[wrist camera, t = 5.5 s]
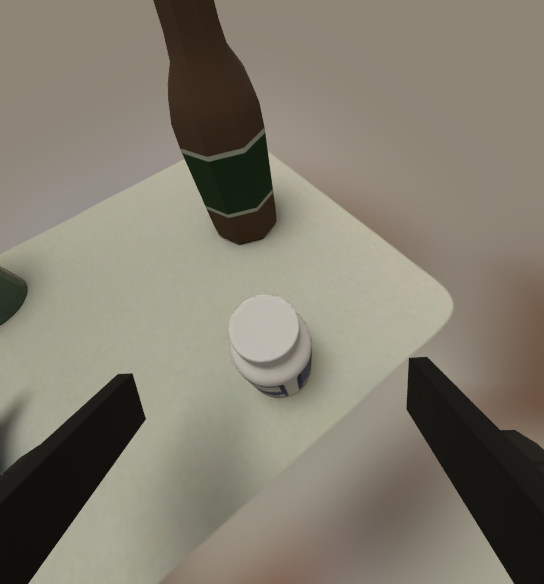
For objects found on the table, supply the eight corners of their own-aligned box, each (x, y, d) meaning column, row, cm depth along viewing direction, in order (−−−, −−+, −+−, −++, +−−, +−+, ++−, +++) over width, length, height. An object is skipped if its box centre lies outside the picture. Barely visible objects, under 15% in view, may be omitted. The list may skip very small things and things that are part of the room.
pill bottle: (290, 326, 24) (281, 268, 15) (322, 377, 21) (334, 341, 13) (239, 355, 23) (201, 310, 15) (267, 411, 21) (240, 397, 12)
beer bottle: (255, 190, 34) (174, -201, 13) (290, 223, 30) (257, -243, 9) (204, 219, 32) (20, -172, 11) (235, 257, 29) (48, -210, 8)
